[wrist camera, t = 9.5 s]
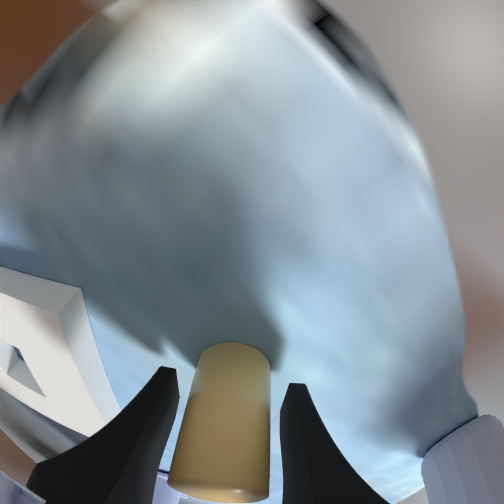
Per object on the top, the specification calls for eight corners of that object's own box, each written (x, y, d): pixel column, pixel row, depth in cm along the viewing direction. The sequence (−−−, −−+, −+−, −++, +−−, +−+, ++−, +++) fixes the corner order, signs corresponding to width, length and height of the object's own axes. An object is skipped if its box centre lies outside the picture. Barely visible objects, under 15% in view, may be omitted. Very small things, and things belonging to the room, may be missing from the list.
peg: (265, 392, 12) (261, 505, 6) (199, 384, 12) (173, 494, 6) (275, 346, 11) (277, 484, 5) (197, 337, 11) (158, 469, 5)
